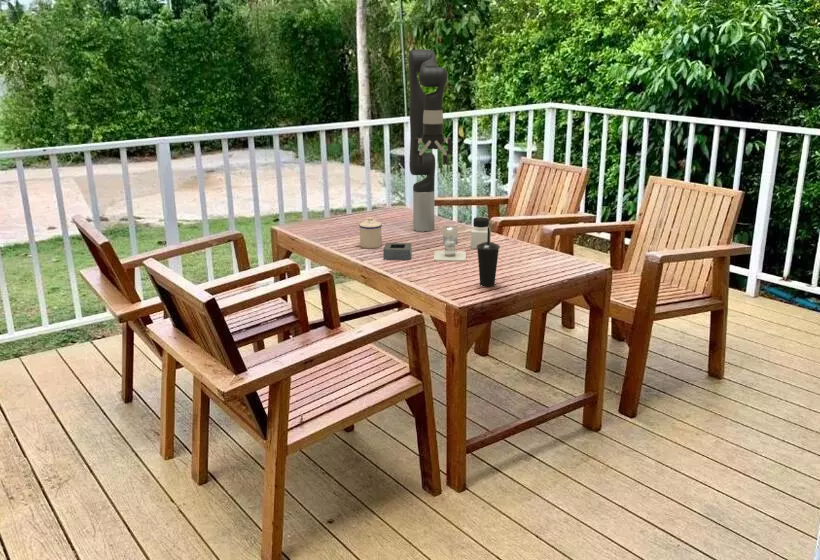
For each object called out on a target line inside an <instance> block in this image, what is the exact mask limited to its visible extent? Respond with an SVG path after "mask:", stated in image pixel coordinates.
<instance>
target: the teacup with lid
mask: <svg viewBox="0 0 820 560" xmlns="http://www.w3.org/2000/svg"><path fill="white" fill-rule="evenodd" d="M358 227H359V244H360V247H361V248H363V249H378V248H380V247H382V242H383V241H382V240H383V237H382V227H383V225H382V223H381V222H380V221H377V220H375V219H374V218H373V217H370V216H369V217H367V219H365V220H364V221H362V222H360V223H359V226H358Z"/></svg>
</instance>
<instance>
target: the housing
mask: <svg viewBox="0 0 820 560" xmlns="http://www.w3.org/2000/svg"><path fill="white" fill-rule="evenodd" d="M382 252H383V255H382V256H383V261H410V260H411V257H412V253H413V252H412V242H385V244H384V247H383V250H382ZM385 259H386V260H385Z"/></svg>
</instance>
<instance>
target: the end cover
mask: <svg viewBox="0 0 820 560" xmlns="http://www.w3.org/2000/svg"><path fill="white" fill-rule="evenodd" d="M458 234H459V233H458V226H456V225H443V226H442V246H443V245H444V251H445V256H447V257H453V256H455V251H456V246H457V245H458V239H459V238H458Z"/></svg>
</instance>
